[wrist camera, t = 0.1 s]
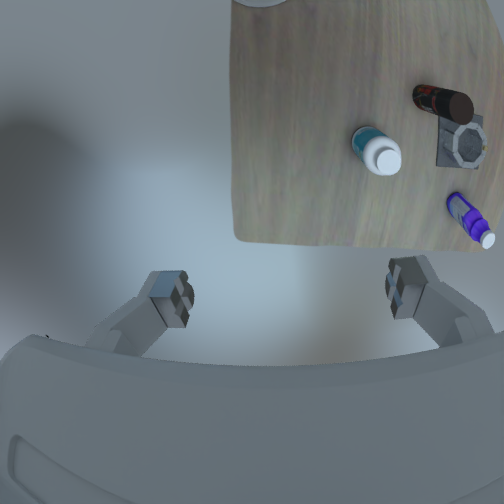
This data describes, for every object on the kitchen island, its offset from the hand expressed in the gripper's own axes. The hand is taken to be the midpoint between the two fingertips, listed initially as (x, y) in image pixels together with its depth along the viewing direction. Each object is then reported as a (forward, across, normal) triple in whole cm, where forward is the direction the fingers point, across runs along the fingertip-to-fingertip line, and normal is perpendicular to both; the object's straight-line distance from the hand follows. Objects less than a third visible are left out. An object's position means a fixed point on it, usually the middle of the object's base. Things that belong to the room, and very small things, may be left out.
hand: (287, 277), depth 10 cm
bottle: (+48, -43, +22) cm, 68 cm away
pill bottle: (+48, -17, +7) cm, 52 cm away
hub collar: (+48, -42, +5) cm, 64 cm away
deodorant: (+48, -31, -4) cm, 57 cm away
